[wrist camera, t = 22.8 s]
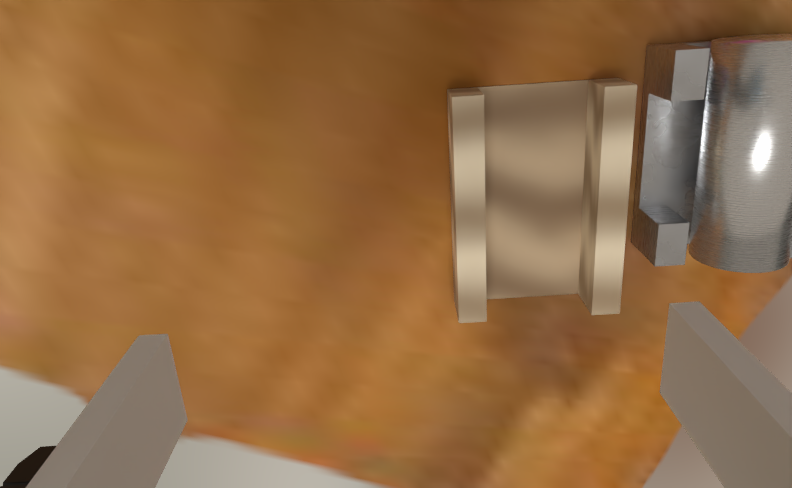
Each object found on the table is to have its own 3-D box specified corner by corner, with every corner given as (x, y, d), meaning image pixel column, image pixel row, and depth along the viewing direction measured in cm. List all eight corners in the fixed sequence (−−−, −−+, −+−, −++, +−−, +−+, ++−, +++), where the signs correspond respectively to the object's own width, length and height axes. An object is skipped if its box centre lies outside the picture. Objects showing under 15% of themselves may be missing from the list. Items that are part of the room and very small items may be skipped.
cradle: (646, 44, 41) (675, 50, 37) (815, 33, 41) (863, 37, 37) (630, 241, 46) (654, 266, 42) (780, 232, 46) (819, 256, 42)
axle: (696, 38, 40) (737, 45, 35) (794, 31, 40) (851, 38, 34) (676, 240, 45) (709, 274, 40) (762, 236, 45) (807, 270, 39)
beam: (446, 88, 42) (451, 97, 39) (615, 77, 42) (637, 84, 38) (453, 298, 48) (458, 323, 45) (602, 289, 48) (619, 313, 44)
